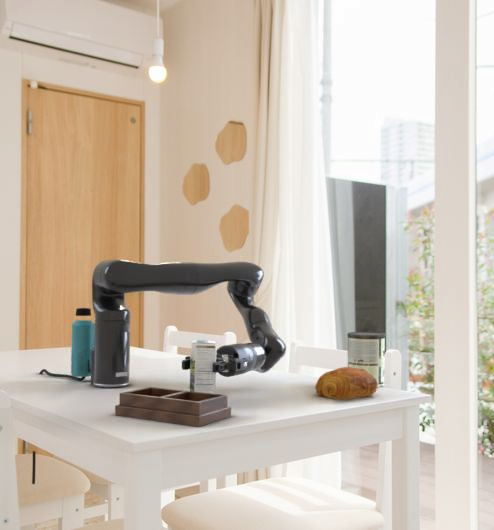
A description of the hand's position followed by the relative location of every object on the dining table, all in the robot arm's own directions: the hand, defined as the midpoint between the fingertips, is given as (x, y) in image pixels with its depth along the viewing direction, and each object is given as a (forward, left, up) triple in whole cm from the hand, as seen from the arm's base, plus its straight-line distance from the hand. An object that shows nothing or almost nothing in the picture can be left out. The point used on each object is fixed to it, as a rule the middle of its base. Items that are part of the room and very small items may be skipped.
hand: (198, 366), depth 155 cm
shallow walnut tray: (+1, -11, -9) cm, 14 cm away
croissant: (+22, +33, -9) cm, 41 cm away
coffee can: (+20, +53, -9) cm, 57 cm away
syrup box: (0, +2, -9) cm, 9 cm away
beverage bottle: (-48, +15, -9) cm, 51 cm away
